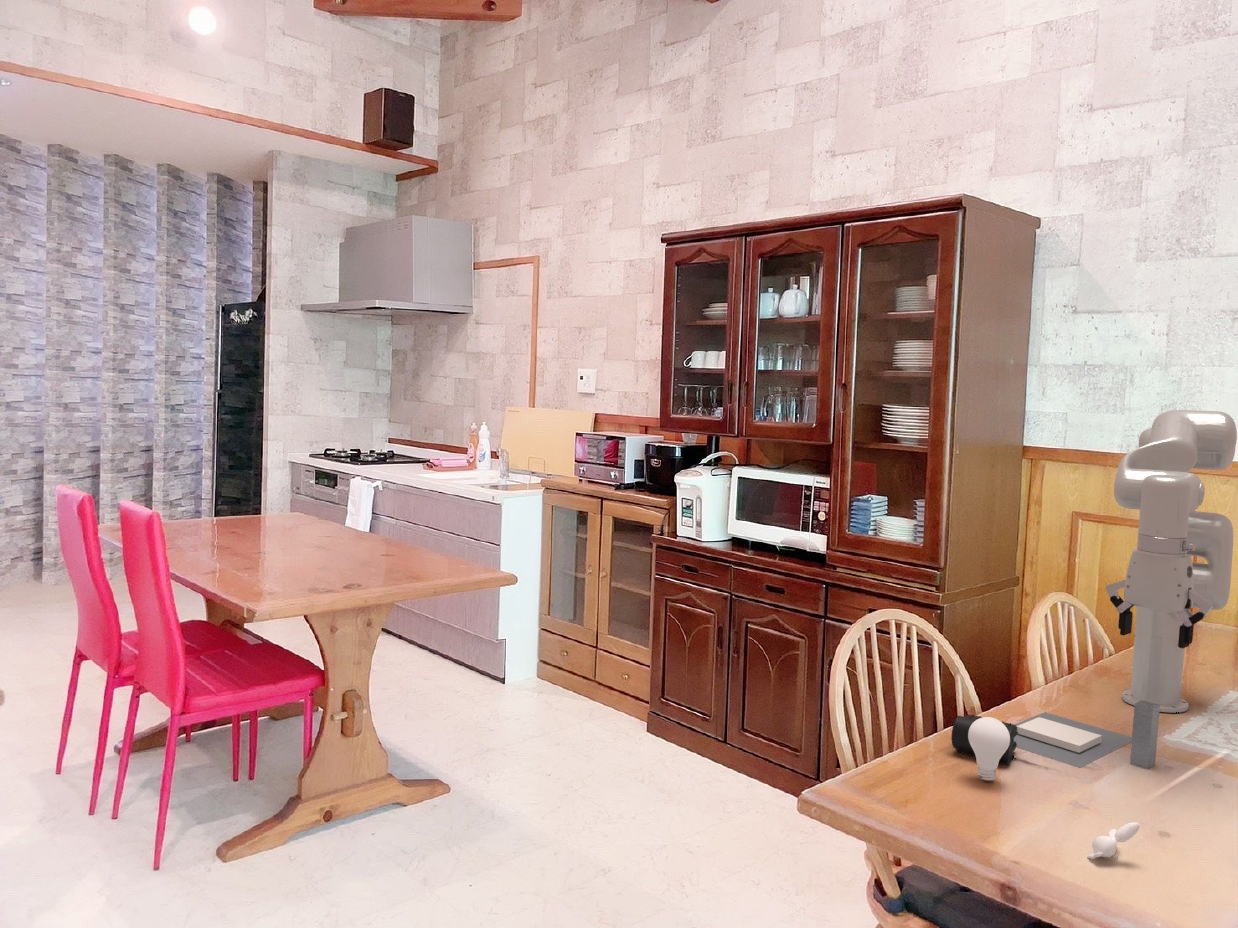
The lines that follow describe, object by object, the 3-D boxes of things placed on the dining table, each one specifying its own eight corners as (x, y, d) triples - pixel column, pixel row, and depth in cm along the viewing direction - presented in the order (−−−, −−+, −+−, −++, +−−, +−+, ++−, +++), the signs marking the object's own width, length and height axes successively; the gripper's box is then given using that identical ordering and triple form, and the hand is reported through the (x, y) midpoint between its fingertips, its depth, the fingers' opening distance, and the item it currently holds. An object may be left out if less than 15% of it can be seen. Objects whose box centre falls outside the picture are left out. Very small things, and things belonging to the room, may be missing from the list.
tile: (1039, 717, 187) (1016, 726, 181) (1101, 735, 178) (1079, 745, 172) (1038, 724, 187) (1015, 734, 181) (1101, 743, 178) (1079, 754, 172)
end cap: (949, 755, 172) (952, 719, 172) (962, 744, 178) (964, 709, 177) (1007, 770, 166) (1009, 733, 166) (1018, 758, 172) (1020, 722, 171)
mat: (1044, 716, 195) (1045, 712, 195) (1137, 743, 181) (1137, 738, 181) (983, 741, 180) (983, 736, 179) (1079, 773, 166) (1079, 767, 166)
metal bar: (1136, 765, 170) (1141, 700, 169) (1154, 770, 168) (1159, 704, 167) (1129, 769, 168) (1134, 703, 167) (1147, 774, 166) (1152, 708, 165)
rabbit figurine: (1072, 850, 137) (1109, 819, 140) (1091, 875, 136) (1128, 843, 138) (1095, 846, 132) (1132, 814, 134) (1115, 872, 131) (1152, 839, 133)
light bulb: (987, 792, 157) (992, 727, 156) (956, 776, 162) (960, 714, 162) (1015, 785, 160) (1020, 721, 159) (984, 770, 166) (988, 709, 165)
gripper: (1224, 551, 162) (1216, 648, 164) (1119, 536, 175) (1112, 626, 177) (1208, 555, 157) (1199, 656, 159) (1101, 539, 171) (1094, 632, 172)
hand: (1153, 640), depth 168 cm, fingers open, 9 cm apart
